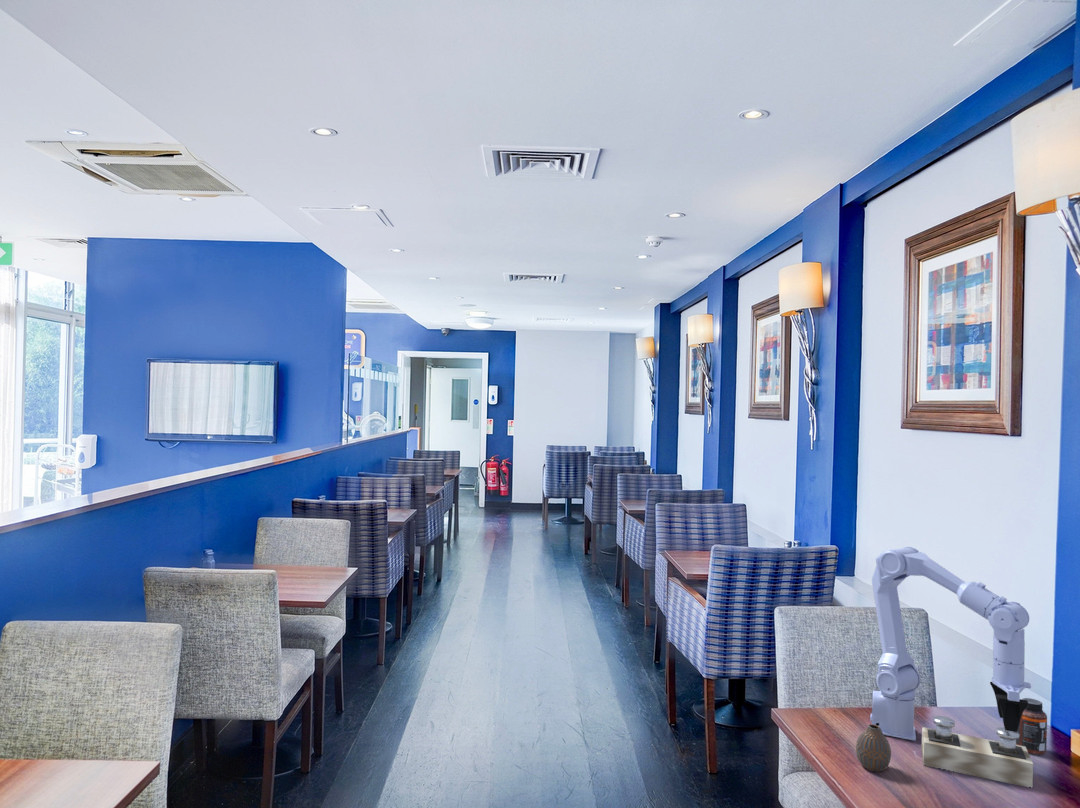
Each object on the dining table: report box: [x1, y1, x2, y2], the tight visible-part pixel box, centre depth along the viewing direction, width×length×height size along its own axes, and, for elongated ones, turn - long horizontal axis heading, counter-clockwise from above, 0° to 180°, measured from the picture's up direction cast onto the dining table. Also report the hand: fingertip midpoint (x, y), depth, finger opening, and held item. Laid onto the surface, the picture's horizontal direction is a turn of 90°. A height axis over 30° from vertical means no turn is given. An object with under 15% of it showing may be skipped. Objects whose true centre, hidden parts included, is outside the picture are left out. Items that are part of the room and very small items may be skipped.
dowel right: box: [995, 726, 1019, 754], centre depth 158 cm, size 4×4×5 cm
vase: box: [855, 723, 892, 772], centre depth 159 cm, size 7×7×9 cm
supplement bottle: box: [1016, 697, 1048, 756], centre depth 171 cm, size 6×6×11 cm
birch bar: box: [921, 726, 1034, 789], centre depth 161 cm, size 20×9×5 cm, turn 65°
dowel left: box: [932, 715, 956, 741], centre depth 163 cm, size 4×4×5 cm
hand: (1008, 724), depth 158 cm, fingers open, 7 cm apart
